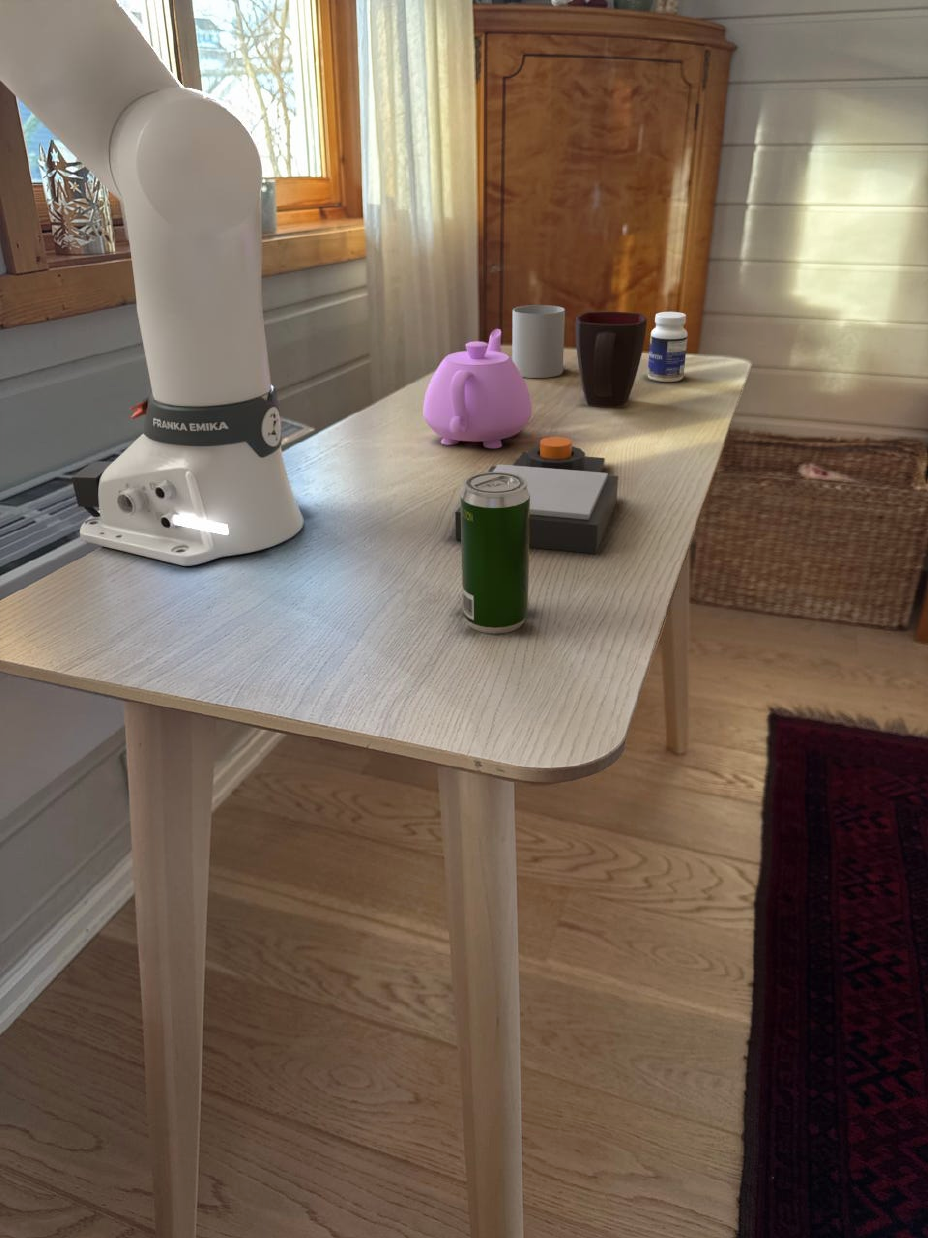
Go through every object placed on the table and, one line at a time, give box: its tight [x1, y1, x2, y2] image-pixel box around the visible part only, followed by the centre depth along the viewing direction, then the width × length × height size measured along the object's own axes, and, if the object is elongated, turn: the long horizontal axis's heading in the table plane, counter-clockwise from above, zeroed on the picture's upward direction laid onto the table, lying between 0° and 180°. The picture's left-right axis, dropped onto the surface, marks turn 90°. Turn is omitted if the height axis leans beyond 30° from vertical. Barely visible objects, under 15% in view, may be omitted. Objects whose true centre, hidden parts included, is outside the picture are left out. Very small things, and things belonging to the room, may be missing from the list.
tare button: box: [539, 436, 573, 459], centre depth 103 cm, size 4×4×2 cm
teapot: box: [422, 328, 533, 449], centre depth 116 cm, size 20×14×12 cm
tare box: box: [512, 445, 606, 473], centre depth 104 cm, size 10×10×3 cm
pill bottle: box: [647, 311, 688, 383], centre depth 142 cm, size 6×6×10 cm
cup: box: [511, 304, 566, 379], centre depth 147 cm, size 8×8×10 cm
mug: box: [575, 311, 648, 408], centre depth 128 cm, size 10×14×12 cm
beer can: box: [459, 471, 530, 635], centre depth 72 cm, size 5×5×12 cm
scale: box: [454, 463, 619, 555], centre depth 92 cm, size 14×14×4 cm
